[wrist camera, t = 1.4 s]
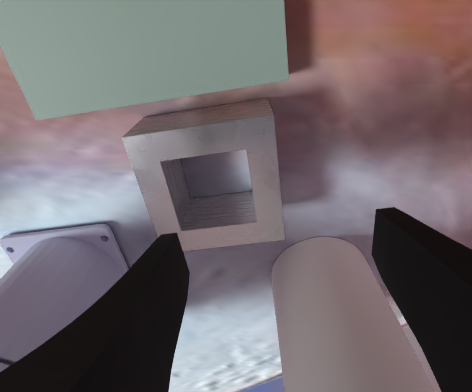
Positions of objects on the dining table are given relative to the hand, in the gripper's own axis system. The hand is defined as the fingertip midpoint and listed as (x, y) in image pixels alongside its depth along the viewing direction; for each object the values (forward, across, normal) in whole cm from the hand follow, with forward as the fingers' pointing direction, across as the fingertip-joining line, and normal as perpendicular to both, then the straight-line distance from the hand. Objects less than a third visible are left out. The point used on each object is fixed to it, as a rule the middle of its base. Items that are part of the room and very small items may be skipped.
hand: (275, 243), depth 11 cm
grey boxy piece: (+8, +3, 0) cm, 8 cm away
